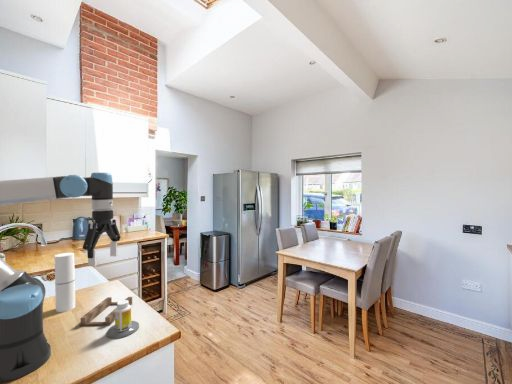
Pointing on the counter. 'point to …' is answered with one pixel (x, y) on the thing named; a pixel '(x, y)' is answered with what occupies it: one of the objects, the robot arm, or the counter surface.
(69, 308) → the cylindrical container
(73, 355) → the counter surface
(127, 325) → the supplement bottle
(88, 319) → the walnut rack
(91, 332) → the counter surface
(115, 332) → the slate pad
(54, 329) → the counter surface
